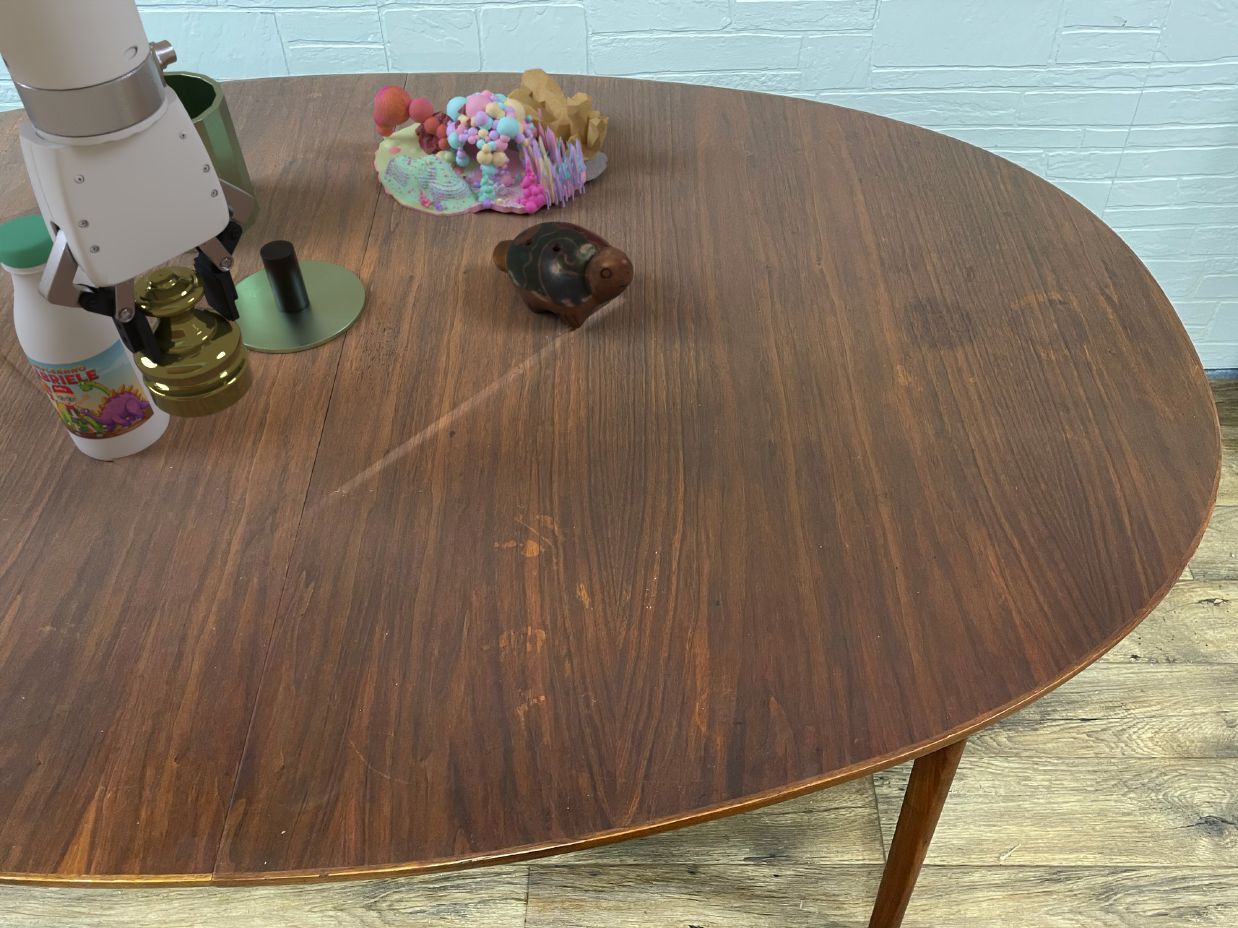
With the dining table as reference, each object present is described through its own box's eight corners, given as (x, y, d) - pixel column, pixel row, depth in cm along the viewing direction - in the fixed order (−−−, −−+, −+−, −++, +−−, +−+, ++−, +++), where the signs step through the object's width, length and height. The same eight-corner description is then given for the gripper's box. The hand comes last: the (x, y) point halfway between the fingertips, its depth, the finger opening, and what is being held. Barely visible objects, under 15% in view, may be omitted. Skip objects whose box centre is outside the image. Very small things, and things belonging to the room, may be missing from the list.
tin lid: (277, 379, 92) (256, 316, 87) (195, 315, 98) (170, 253, 93) (396, 308, 99) (382, 246, 94) (311, 252, 105) (295, 191, 100)
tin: (178, 273, 103) (129, 150, 93) (114, 225, 109) (62, 105, 99) (283, 219, 109) (248, 99, 99) (217, 177, 115) (178, 59, 105)
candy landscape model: (531, 91, 127) (526, 16, 120) (646, 175, 114) (647, 96, 107) (344, 156, 118) (326, 78, 111) (446, 256, 104) (433, 175, 98)
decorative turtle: (615, 355, 94) (606, 284, 88) (475, 317, 99) (457, 248, 93) (662, 290, 99) (656, 220, 93) (526, 258, 105) (512, 189, 99)
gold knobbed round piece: (276, 370, 78) (241, 260, 71) (209, 433, 73) (164, 323, 66) (199, 341, 80) (157, 232, 73) (129, 401, 76) (77, 291, 68)
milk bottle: (91, 401, 90) (-14, 202, 76) (181, 396, 91) (93, 197, 76) (65, 466, 85) (-53, 266, 71) (160, 461, 86) (62, 260, 71)
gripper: (188, 21, 66) (259, 257, 79) (-87, 122, 57) (45, 367, 71) (257, 60, 63) (319, 299, 76) (-25, 173, 54) (101, 421, 67)
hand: (186, 330), depth 73 cm, fingers closed on gold knobbed round piece, 5 cm apart
